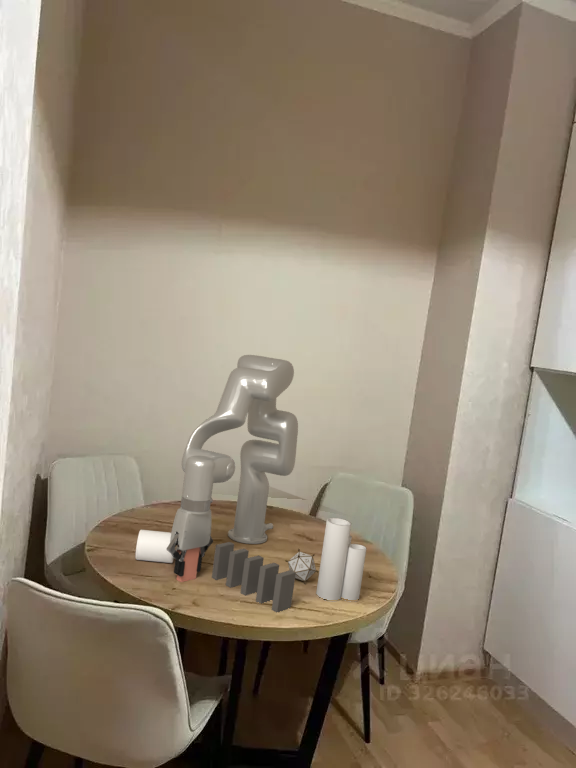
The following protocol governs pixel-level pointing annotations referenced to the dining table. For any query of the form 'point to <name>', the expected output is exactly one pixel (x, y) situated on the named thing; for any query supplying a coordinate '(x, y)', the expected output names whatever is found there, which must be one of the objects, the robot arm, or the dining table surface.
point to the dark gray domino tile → (236, 567)
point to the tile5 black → (266, 582)
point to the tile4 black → (251, 575)
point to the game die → (302, 565)
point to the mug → (153, 546)
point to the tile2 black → (221, 560)
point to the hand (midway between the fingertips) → (187, 571)
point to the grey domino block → (283, 591)
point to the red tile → (190, 565)
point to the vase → (340, 563)
